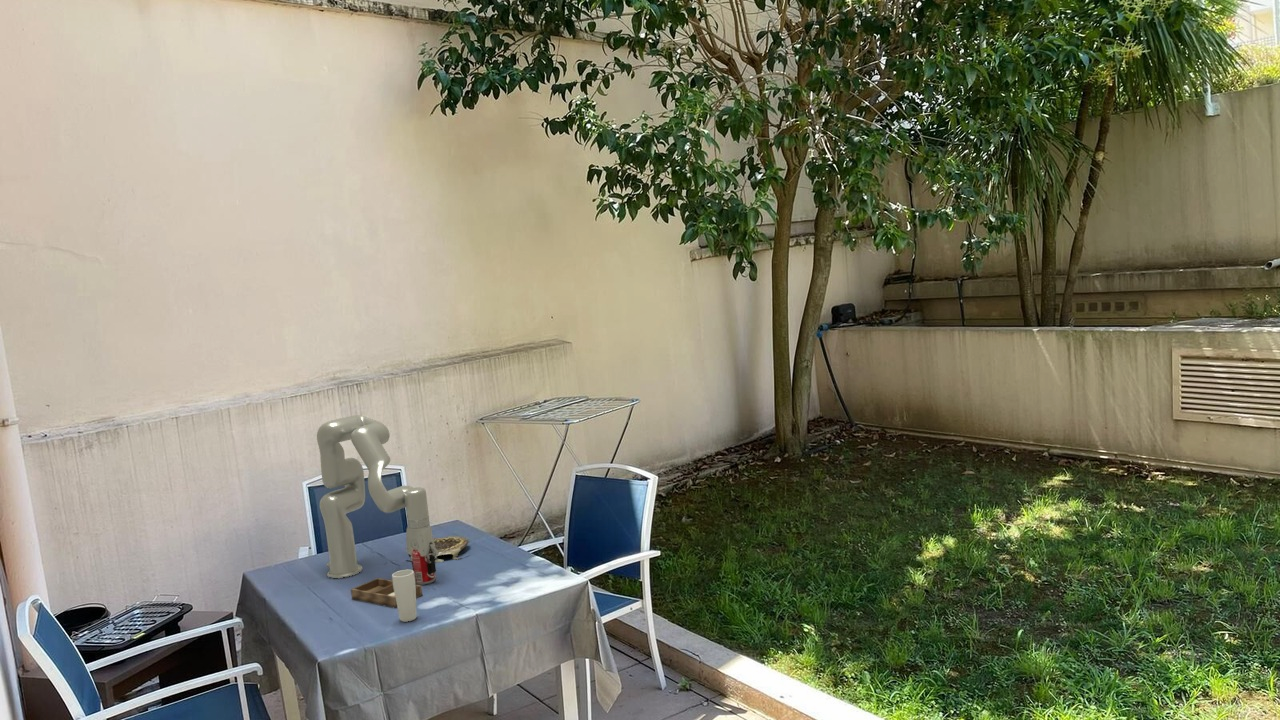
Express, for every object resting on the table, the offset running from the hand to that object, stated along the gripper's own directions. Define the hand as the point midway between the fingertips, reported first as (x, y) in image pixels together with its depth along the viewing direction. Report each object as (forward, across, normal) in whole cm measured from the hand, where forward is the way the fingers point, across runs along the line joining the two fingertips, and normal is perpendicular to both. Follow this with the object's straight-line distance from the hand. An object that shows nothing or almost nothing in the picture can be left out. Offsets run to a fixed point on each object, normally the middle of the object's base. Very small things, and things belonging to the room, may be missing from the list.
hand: (424, 571), depth 304 cm
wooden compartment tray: (+4, -2, -16) cm, 17 cm away
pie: (+5, -20, +27) cm, 34 cm away
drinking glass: (+4, +22, -27) cm, 35 cm away
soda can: (+4, 0, 0) cm, 4 cm away
